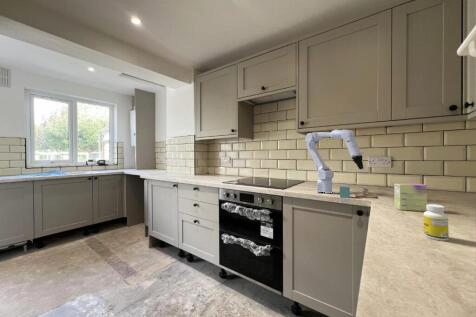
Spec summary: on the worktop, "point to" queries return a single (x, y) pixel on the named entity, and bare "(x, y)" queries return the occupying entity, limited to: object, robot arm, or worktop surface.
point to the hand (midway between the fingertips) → (361, 168)
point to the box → (410, 196)
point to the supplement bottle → (436, 222)
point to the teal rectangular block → (345, 191)
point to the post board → (365, 194)
